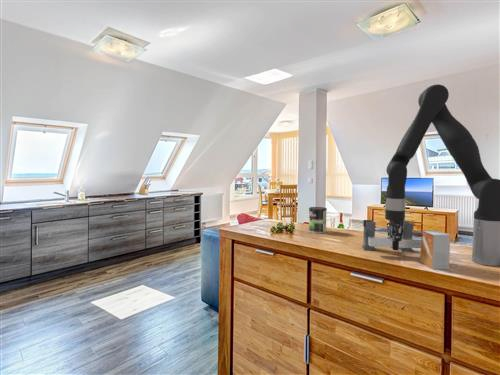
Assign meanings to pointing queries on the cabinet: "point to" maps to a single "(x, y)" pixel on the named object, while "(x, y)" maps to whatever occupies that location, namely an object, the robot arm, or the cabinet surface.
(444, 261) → the small box
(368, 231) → the post far
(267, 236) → the cabinet surface
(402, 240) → the rail
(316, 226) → the coffee can
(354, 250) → the cabinet surface
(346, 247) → the cabinet surface
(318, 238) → the cabinet surface
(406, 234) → the post near
